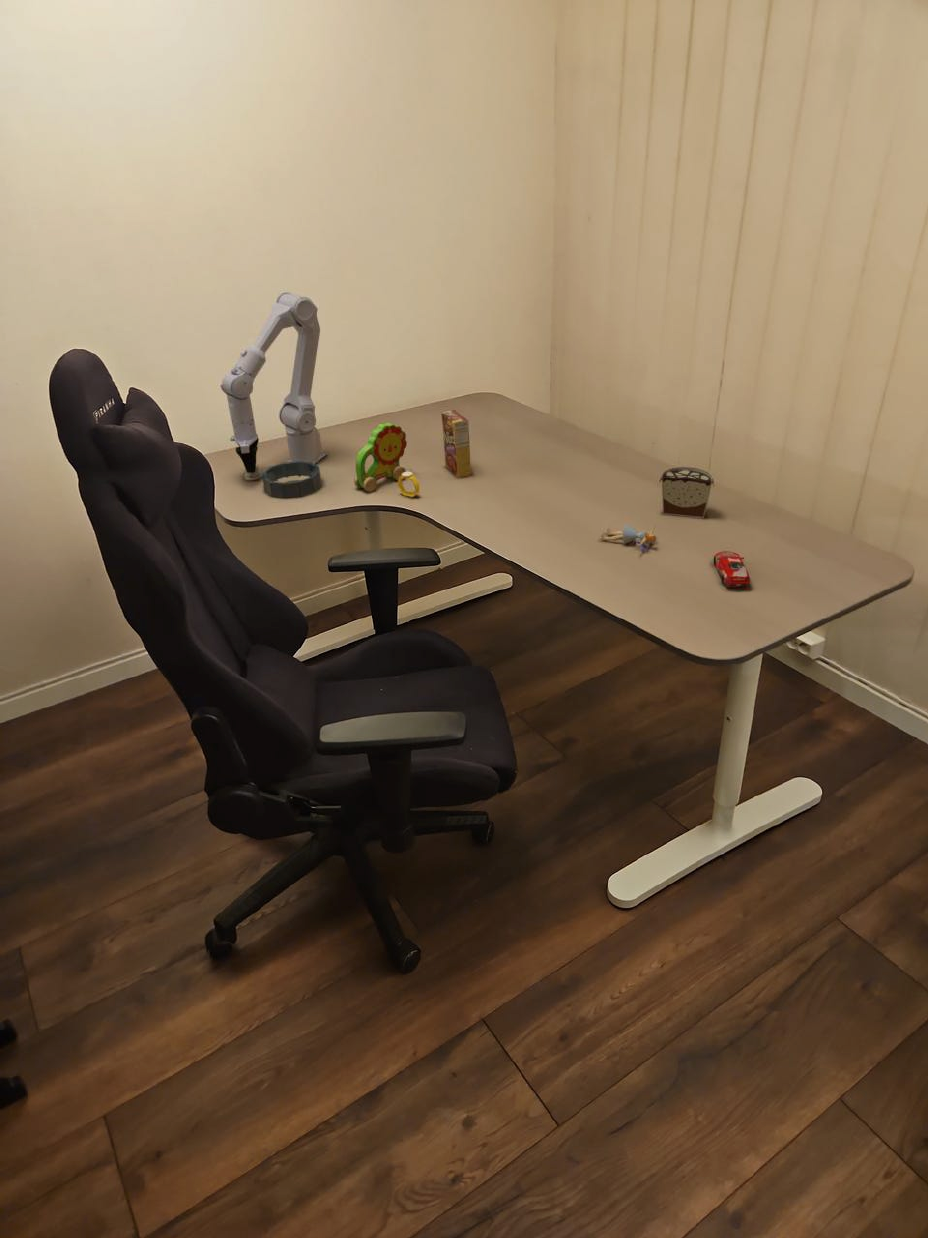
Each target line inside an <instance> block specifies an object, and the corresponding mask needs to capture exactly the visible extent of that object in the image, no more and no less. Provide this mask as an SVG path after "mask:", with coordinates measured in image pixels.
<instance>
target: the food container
mask: <svg viewBox="0 0 928 1238" xmlns="http://www.w3.org/2000/svg"><path fill="white" fill-rule="evenodd" d="M659 483H661V489H662V490H661V492H662V493H661V494H662V495H661V496H662V515H667V516H668V515H669V516H677V517H687V518H697V519H704V518H705V515H706V510H707V507H708V506H707V505H708V502H709V498H710V493H711V489H712V488H714V487H715V480H714V477H713V475H712V473H710V472H709V471H707V470H705V469H703V468H698V467H693V466H692V467H691V466H678V467H671V468H668V469H666V470H664V471H663V472H662V474H661V476H660V478H659Z"/></svg>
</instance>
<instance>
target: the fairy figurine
mask: <svg viewBox="0 0 928 1238" xmlns="http://www.w3.org/2000/svg"><path fill="white" fill-rule="evenodd" d="M655 529H656V524H654V525H653V528H652V530H651V531H650V532H649V533H647V532H646V531H641V532H639V530H637V529H636V528H634V527H633V526H631V525H630V524H626V525H625V527H624V528H623V531H612V530H611V528H610V526H609V525H608V526H606V534H607V535H608V536H606V535H605V532H604V531H601V533H600V535H601V541H611V542H615V541H618V540H621V539H622V541H623V544H625V545H626V544H628V543H631V542H634V541H635V540H636V544H635V548H640V549H641V550H642V551H643V552H644V553H646V550H648V545H649V544H648V543H651V544H655V541H656V539H657V538H656V535H655V534H654V530H655ZM637 539H638V540H637ZM643 546H644V547H643Z"/></svg>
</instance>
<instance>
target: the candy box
mask: <svg viewBox="0 0 928 1238" xmlns="http://www.w3.org/2000/svg"><path fill="white" fill-rule="evenodd" d="M441 423H442V425H441V426H442V438H443V451H444V465H445V467H446V468H447V469H448V471H450V472H451V473H452V474H453V475H454V476H455V477H456V478H457V479H459V478H464V477H468V476H471V475H472V468H471V449H470V448H471V446H470V445H471V444H470V430H469V429H470V428H469V419H467V418H466V417H465V416H463V415H462V414H460V413H459V412H458V411H456V410H455V409H453V410H448V411H447V410H446V411H443V412H441Z"/></svg>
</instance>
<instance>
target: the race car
mask: <svg viewBox="0 0 928 1238" xmlns="http://www.w3.org/2000/svg"><path fill="white" fill-rule="evenodd" d="M744 559H745V557H743V556H742V557H741V556H740V554H739V553H737V552H734V551H729V550H725V551H718V552H717V553H715V554H714V556H713V565H714V566H715V568H716V570H717V573H718V575H719V578H720V580H721V584H722V585H724V586H726V587H728V588H746V587H747V588H748V587H749V585H750V581H751V580H750V574H749V571H748V569H747V567H746V565H745V563H744Z"/></svg>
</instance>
